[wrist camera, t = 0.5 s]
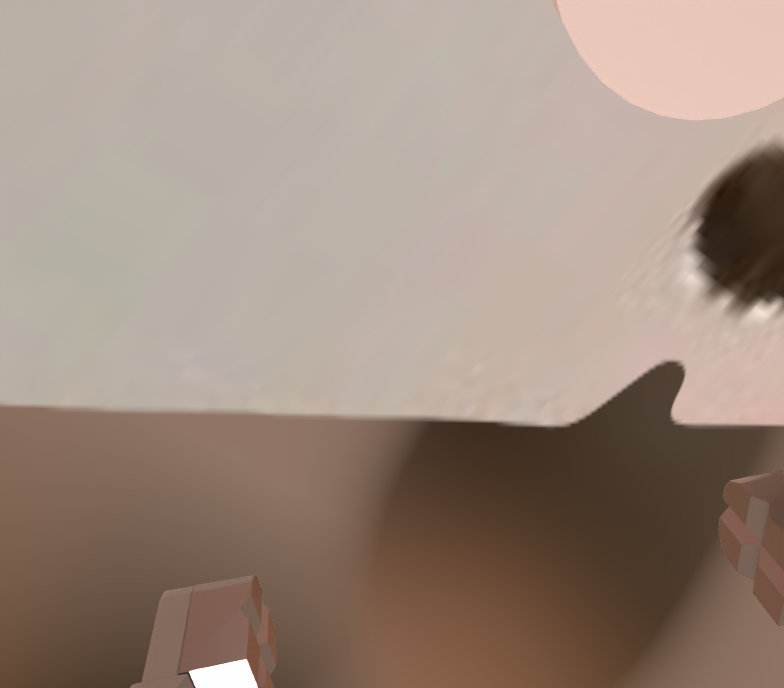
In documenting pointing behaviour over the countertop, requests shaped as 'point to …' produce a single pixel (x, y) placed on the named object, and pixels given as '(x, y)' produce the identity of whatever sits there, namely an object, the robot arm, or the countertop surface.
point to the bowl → (683, 52)
